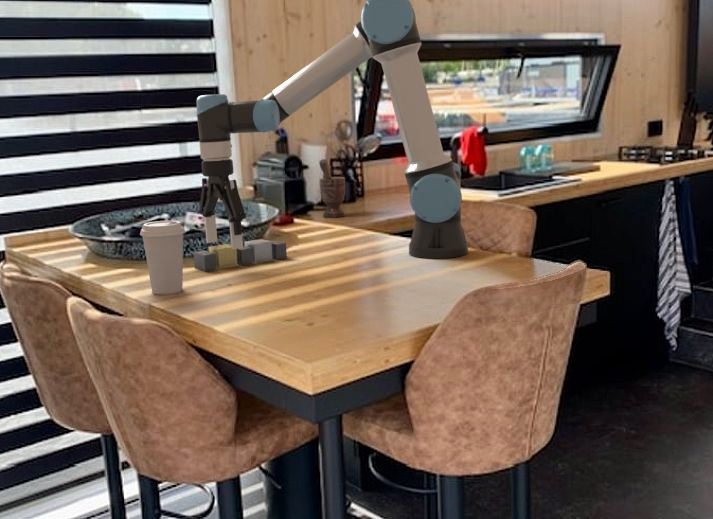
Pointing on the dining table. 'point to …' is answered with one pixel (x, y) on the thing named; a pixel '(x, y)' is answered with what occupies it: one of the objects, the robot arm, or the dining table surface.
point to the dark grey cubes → (244, 256)
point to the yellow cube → (224, 256)
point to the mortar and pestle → (331, 191)
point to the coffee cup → (164, 255)
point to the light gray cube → (260, 250)
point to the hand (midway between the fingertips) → (224, 245)
